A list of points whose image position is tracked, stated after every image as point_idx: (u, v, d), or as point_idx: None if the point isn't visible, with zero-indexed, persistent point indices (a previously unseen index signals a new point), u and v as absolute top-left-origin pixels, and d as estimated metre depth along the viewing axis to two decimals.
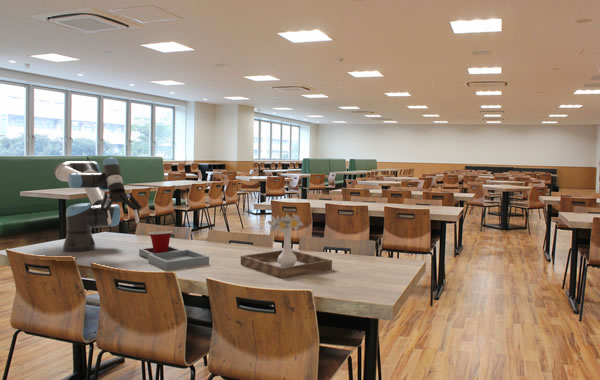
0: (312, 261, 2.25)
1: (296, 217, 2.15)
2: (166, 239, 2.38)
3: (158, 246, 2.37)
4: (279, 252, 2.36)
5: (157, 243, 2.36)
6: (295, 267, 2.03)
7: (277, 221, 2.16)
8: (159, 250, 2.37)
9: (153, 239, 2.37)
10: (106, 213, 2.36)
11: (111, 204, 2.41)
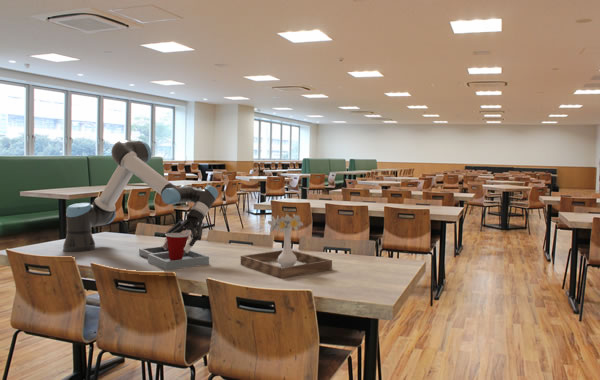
0: (312, 261, 2.25)
1: (296, 217, 2.15)
2: (183, 242, 2.24)
3: (174, 249, 2.23)
4: (279, 252, 2.36)
5: (174, 246, 2.22)
6: (295, 267, 2.03)
7: (277, 221, 2.16)
8: (175, 253, 2.23)
9: (169, 242, 2.23)
10: None
11: None
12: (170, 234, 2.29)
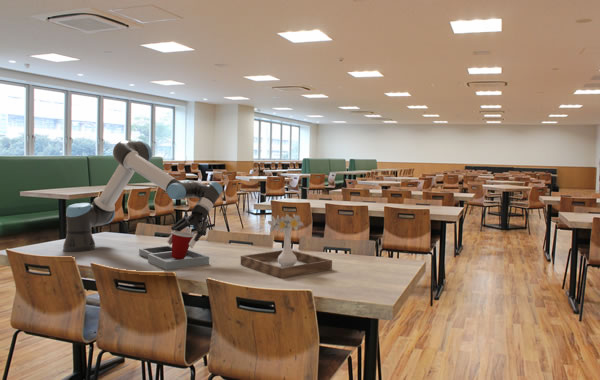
0: (312, 261, 2.25)
1: (296, 217, 2.15)
2: (188, 242, 2.26)
3: (179, 248, 2.25)
4: (279, 252, 2.36)
5: (178, 245, 2.24)
6: (295, 267, 2.03)
7: (277, 221, 2.16)
8: (178, 252, 2.25)
9: (174, 240, 2.24)
10: None
11: None
12: (175, 232, 2.30)
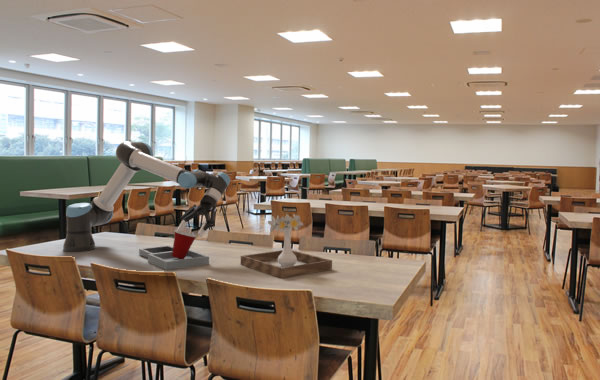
0: (312, 261, 2.25)
1: (296, 217, 2.15)
2: (190, 242, 2.27)
3: (180, 247, 2.25)
4: (279, 252, 2.36)
5: (180, 243, 2.25)
6: (295, 267, 2.03)
7: (277, 221, 2.16)
8: (179, 251, 2.26)
9: (177, 238, 2.25)
10: None
11: None
12: (178, 232, 2.31)
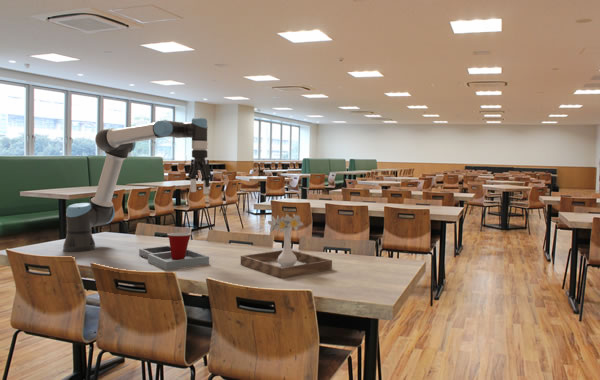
0: (312, 261, 2.25)
1: (296, 217, 2.15)
2: (186, 241, 2.27)
3: (178, 248, 2.25)
4: (279, 252, 2.36)
5: (178, 245, 2.25)
6: (295, 267, 2.03)
7: (277, 221, 2.16)
8: (179, 252, 2.26)
9: (173, 241, 2.24)
10: None
11: None
12: (170, 234, 2.30)
